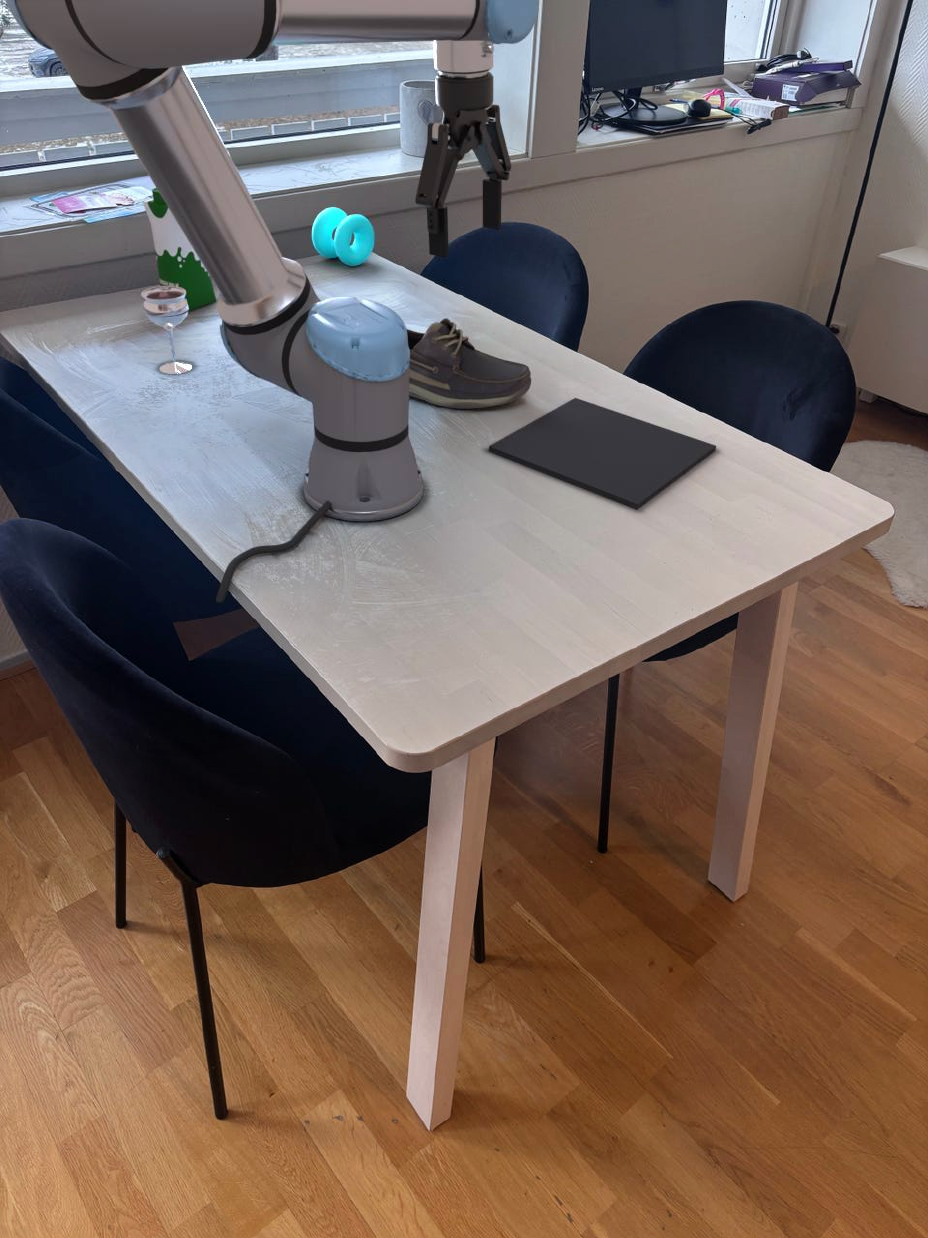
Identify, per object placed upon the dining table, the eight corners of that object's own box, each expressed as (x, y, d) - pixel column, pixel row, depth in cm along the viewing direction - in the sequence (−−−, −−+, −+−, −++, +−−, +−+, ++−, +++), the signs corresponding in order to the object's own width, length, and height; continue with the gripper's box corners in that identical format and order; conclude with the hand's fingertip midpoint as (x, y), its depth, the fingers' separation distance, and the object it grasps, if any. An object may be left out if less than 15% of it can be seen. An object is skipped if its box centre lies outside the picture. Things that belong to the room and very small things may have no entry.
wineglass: (145, 373, 151) (132, 297, 144) (166, 357, 156) (154, 283, 149) (185, 378, 150) (173, 302, 143) (204, 362, 155) (194, 288, 148)
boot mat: (637, 509, 122) (637, 504, 122) (488, 451, 134) (488, 445, 133) (715, 450, 136) (716, 445, 136) (574, 402, 148) (575, 397, 147)
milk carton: (154, 303, 176) (135, 187, 164) (189, 290, 183) (174, 178, 171) (188, 313, 173) (172, 196, 161) (223, 300, 179) (210, 186, 167)
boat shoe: (523, 418, 142) (528, 349, 136) (335, 396, 147) (331, 328, 140) (533, 389, 151) (539, 322, 144) (355, 369, 155) (353, 303, 149)
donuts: (342, 271, 195) (339, 220, 189) (310, 260, 200) (307, 210, 194) (378, 262, 201) (377, 212, 195) (346, 251, 206) (344, 202, 200)
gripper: (432, 93, 113) (437, 273, 126) (538, 58, 129) (533, 221, 142) (381, 86, 116) (392, 262, 130) (491, 53, 132) (490, 212, 145)
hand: (466, 241), depth 136 cm, fingers open, 13 cm apart
